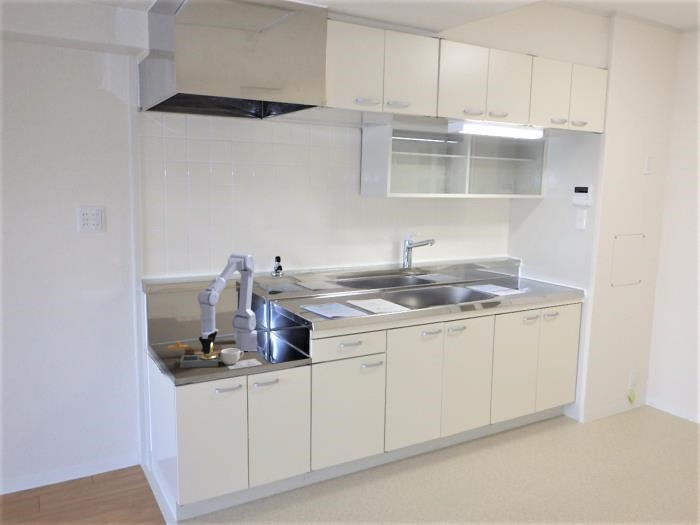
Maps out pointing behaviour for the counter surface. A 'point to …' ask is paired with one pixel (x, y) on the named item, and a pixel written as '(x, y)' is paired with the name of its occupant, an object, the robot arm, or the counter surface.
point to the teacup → (230, 355)
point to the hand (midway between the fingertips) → (208, 350)
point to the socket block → (200, 351)
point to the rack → (197, 361)
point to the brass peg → (210, 355)
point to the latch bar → (178, 346)
